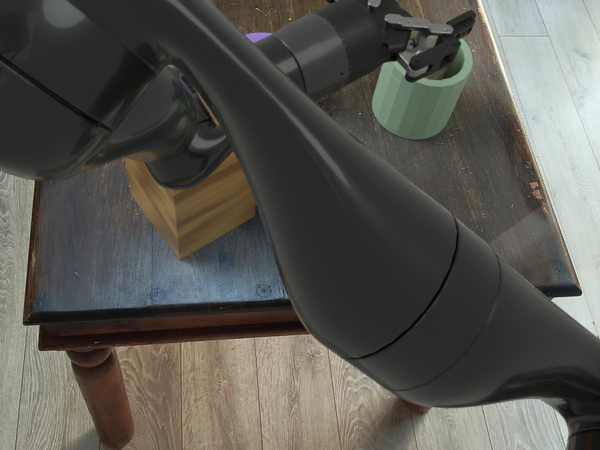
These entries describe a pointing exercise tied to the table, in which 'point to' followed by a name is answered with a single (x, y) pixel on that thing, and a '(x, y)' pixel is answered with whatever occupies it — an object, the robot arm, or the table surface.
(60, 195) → the table surface
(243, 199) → the stand
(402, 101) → the jar
